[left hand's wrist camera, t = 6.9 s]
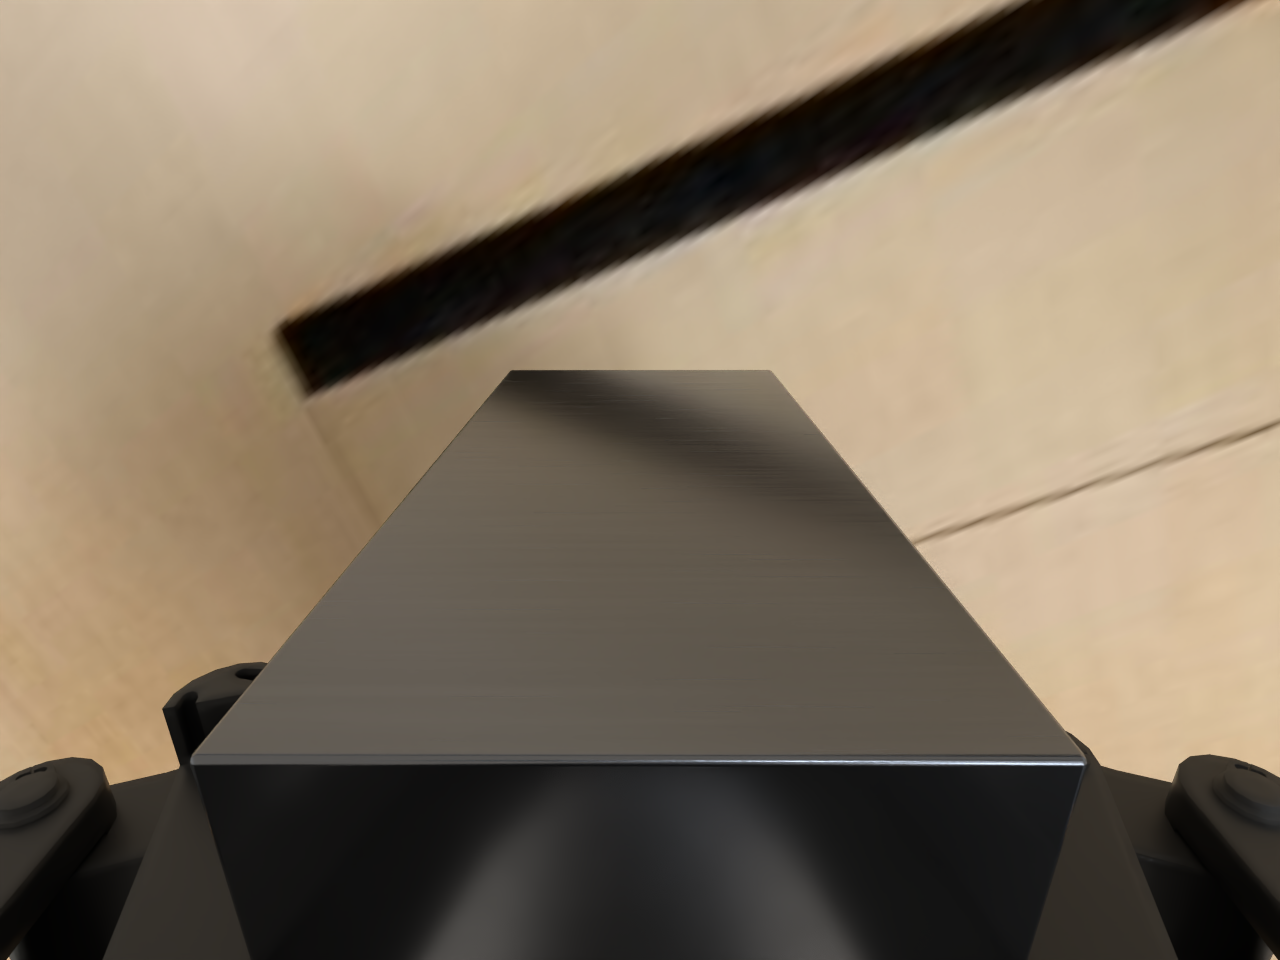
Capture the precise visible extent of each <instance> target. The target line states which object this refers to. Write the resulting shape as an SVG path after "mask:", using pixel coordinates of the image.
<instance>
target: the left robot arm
mask: <svg viewBox="0 0 1280 960" xmlns="http://www.w3.org/2000/svg"><path fill="white" fill-rule="evenodd" d="M267 664H268V663H263V662H256V663H241V664H236V665H232V666H229V667H225V668H221V669H217V670H214V671H212V672H210V673H208V674H206V675H204V676H201V677H199V678H197V679H195V680H193V681H191V682H190V683H188V684H187V685H186V686H184V687H183V688H182V689H180V690H179V691H177V692H176V693H175V694H173V696H172V697H171V698H170V700H169V701H168V702H167V703H166V705H165V706H164V707H163V708H162V710H163V713H164V716H165V719H166V722H167V726H168V729H169V732H170V735H171V738H172V741H173V744H174V747H175V751H176V754H177V757H178V760H179V763H180V767H179V769H177V770H173V771H170V772H167V773H162V774H158V775H153V776H149V777H145V778H140V779H136V780H131V781H127V782H123V783H118V784H114V785H109V783H108V780H107V778H106V775H105V772H104V770H103V767H102V766H100V765H99V764H98V763H96V762H95V761H94V760H92V759H85V758H75V757H70V758H65V759H59V760H53V761H47V762H44V763H41V764H38V765H35V766H33V767H29V768H27V769H24V770H22V771H19V772H17V773H15V774H13V775H12V776H10V777H8V778H6V779H4V780H2V781H1V782H0V960H7V958H8V957H10V959H11V960H251V959H250V956H249V952H248V949H247V946H246V943H245V940H244V936H243V933H242V930H241V927H240V924H239V920H238V917H237V914H236V911H235V907H234V904H233V901H232V898H231V895H230V891H229V888H228V885H227V882H226V879H225V875H224V872H223V869H222V866H221V862H220V859H219V856H218V853H217V850H216V846H215V843H214V840H213V837H212V834H211V830H210V827H209V824H208V821H207V817H206V814H205V811H204V808H203V805H202V801H201V798H200V795H199V792H198V789H197V785H196V782H195V779H194V776H193V772H192V769H191V766H190V760H191V757H192V754H193V753H194V752H195V750H196V749H197V748H198V747H199V746H200V744H201V743H202V742H203V741H204V740H205V738H206V737H207V736H208V735H209V734H210V732H211V731H212V730H213V729H214V728H215V726H216V725H217V724H218V723H219V722H220V720H221V719H222V718H223V717H224V716H225V714H226V713H227V712H228V711H229V710H230V708H231V707H232V706H233V705H234V703H235V702H236V701H237V700H238V699H239V697H240V696H241V695H242V694H243V693H244V691H245V690H246V689H247V688H248V687H249V685H250V684H251V683H252V682H253V681H254V679H255V678H256V677H257V676H258V675H259V673H260V672H261V671H262V670H263V669H264V667H265V666H266V665H267ZM1066 733H1067V734H1068V735H1069V736H1070V738H1071V739H1072V740H1073V741H1074V742H1075V744H1076V745H1077V746H1078V747H1079V749H1080V750H1081V751H1082V752H1083V753H1084V755H1085V757H1086V760H1087V767H1086V771H1085V774H1084V777H1083V781H1082V784H1081V787H1080V790H1079V794H1078V797H1077V800H1076V803H1075V807H1074V810H1073V813H1072V816H1071V820H1070V823H1069V826H1068V830H1067V833H1066V836H1065V839H1064V843H1063V846H1062V849H1061V852H1060V856H1059V859H1058V862H1057V865H1056V869H1055V872H1054V875H1053V879H1052V882H1051V885H1050V888H1049V892H1048V895H1047V898H1046V901H1045V905H1044V908H1043V911H1042V914H1041V918H1040V921H1039V924H1038V928H1037V931H1036V934H1035V937H1034V941H1033V944H1032V947H1031V950H1030V954H1029V957H1028V960H1270V959H1271V957H1272V955H1273V954H1274V955H1275V956H1276V958H1277V959H1278V960H1280V778H1279V777H1277V776H1275V775H1274V774H1272V773H1270V772H1268V771H1266V770H1265V769H1262V768H1260V767H1257V766H1255V765H1252V764H1248V763H1246V762H1243V761H1240V760H1237V759H1233V758H1227V757H1222V756H1216V755H1210V754H1209V755H1199V756H1190V757H1189V758H1187V759H1186V760H1184V761H1183V762H1182V763H1180V764H1179V766H1178V769H1177V771H1176V774H1175V777H1174V779H1173V782H1172V783H1171V782H1166V781H1162V780H1157V779H1153V778H1148V777H1144V776H1140V775H1135V774H1131V773H1126V772H1122V771H1117V770H1114V769H1110V768H1107V767H1103V766H1100V764H1099V762H1098V761H1097V759H1096V758H1095V756H1094V755H1093V753H1092V752H1091V750H1090V749H1089V748H1088V747H1087V746H1085V745H1084V744H1083V743H1082V742H1081V741H1079V740H1078V739H1077V738H1076V737H1075V736H1073V735H1072V734H1070V733H1069V732H1067V731H1066Z"/></svg>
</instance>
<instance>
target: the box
mask: <svg viewBox="0 0 1280 960" xmlns="http://www.w3.org/2000/svg"><path fill="white" fill-rule="evenodd" d="M190 766H191V769H192V772H193V776H194V779H195V782H196V785H197V789H198V792H199V795H200V798H201V801H202V805H203V808H204V811H205V814H206V817H207V821H208V824H209V827H210V830H211V834H212V837H213V840H214V843H215V846H216V850H217V853H218V856H219V859H220V862H221V866H222V869H223V872H224V875H225V879H226V882H227V885H228V888H229V891H230V895H231V898H232V901H233V904H234V907H235V911H236V914H237V917H238V920H239V924H240V927H241V930H242V933H243V936H244V940H245V943H246V946H247V949H248V952H249V956H250V959H251V960H1028V957H1029V954H1030V950H1031V947H1032V944H1033V941H1034V937H1035V934H1036V931H1037V928H1038V924H1039V921H1040V918H1041V914H1042V911H1043V908H1044V905H1045V901H1046V898H1047V895H1048V892H1049V888H1050V885H1051V882H1052V879H1053V875H1054V872H1055V869H1056V865H1057V862H1058V859H1059V856H1060V852H1061V849H1062V846H1063V843H1064V839H1065V836H1066V833H1067V830H1068V826H1069V823H1070V820H1071V816H1072V813H1073V810H1074V807H1075V803H1076V800H1077V797H1078V794H1079V790H1080V787H1081V784H1082V781H1083V777H1084V774H1085V771H1086V767H1087V760H1086V757H1085V755H1084V753H1083V752H1082V751H1081V750H1080V749H1079V747H1078V746H1077V745H1076V744H1075V742H1074V741H1073V740H1072V739H1071V738H1070V736H1069V735H1068V734H1067V733H1066V731H1065V730H1064V729H1063V728H1062V727H1061V725H1060V724H1059V723H1058V722H1057V720H1056V719H1055V718H1054V717H1053V716H1052V714H1051V713H1050V712H1049V711H1048V709H1047V708H1046V707H1045V706H1044V704H1043V703H1042V702H1041V701H1040V700H1039V698H1038V697H1037V696H1036V695H1035V693H1034V692H1033V691H1032V690H1031V689H1030V687H1029V686H1028V685H1027V684H1026V682H1025V681H1024V680H1023V679H1022V678H1021V676H1020V675H1019V674H1018V673H1017V671H1016V670H1015V669H1014V668H1013V666H1012V665H1011V664H1010V663H1009V662H1008V660H1007V659H1006V658H1005V657H1004V655H1003V654H1002V653H1001V652H1000V651H999V649H998V648H997V647H996V646H995V644H994V643H993V642H992V641H991V640H990V638H989V637H988V636H987V635H986V633H985V632H984V631H983V630H982V629H981V627H980V626H979V625H978V624H977V622H976V621H975V620H974V619H973V617H972V616H971V615H970V614H969V613H968V611H967V610H966V609H965V608H964V606H963V605H962V604H961V603H960V602H959V600H958V599H957V598H956V597H955V595H954V594H953V593H952V592H951V591H950V589H949V588H948V587H947V586H946V584H945V583H944V582H943V581H942V580H941V578H940V577H939V576H938V575H937V573H936V572H935V571H934V570H933V568H932V567H931V566H930V565H929V564H928V562H927V561H926V560H925V559H924V557H923V556H922V555H921V554H920V553H919V551H918V550H917V549H916V548H915V546H914V545H913V544H912V543H911V542H910V540H909V539H908V538H907V537H906V535H905V534H904V533H903V532H902V530H901V529H900V528H899V527H898V526H897V524H896V523H895V522H894V521H893V519H892V518H891V517H890V516H889V515H888V513H887V512H886V511H885V510H884V508H883V507H882V506H881V505H880V504H879V502H878V501H877V500H876V499H875V497H874V496H873V495H872V494H871V493H870V491H869V490H868V489H867V488H866V486H865V485H864V484H863V483H862V481H861V480H860V479H859V478H858V477H857V475H856V474H855V473H854V472H853V470H852V469H851V468H850V467H849V466H848V464H847V463H846V462H845V461H844V459H843V458H842V457H841V456H840V455H839V453H838V452H837V451H836V450H835V448H834V447H833V446H832V445H831V444H830V442H829V441H828V440H827V439H826V437H825V436H824V435H823V434H822V432H821V431H820V430H819V429H818V428H817V426H816V425H815V424H814V423H813V421H812V420H811V419H810V418H809V417H808V415H807V414H806V413H805V412H804V410H803V409H802V408H801V407H800V406H799V404H798V403H797V402H796V401H795V399H794V398H793V397H792V396H791V395H790V393H789V392H788V391H787V390H786V388H785V387H784V386H783V385H782V383H781V382H780V381H779V380H778V379H777V377H776V376H775V375H774V374H773V372H772V371H770V370H512V371H510V372H509V373H508V374H507V376H506V377H505V378H504V379H503V380H502V382H501V383H500V384H499V385H498V386H497V388H496V389H495V390H494V391H493V393H492V394H491V395H490V396H489V397H488V399H487V400H486V401H485V402H484V403H483V405H482V406H481V407H480V408H479V409H478V411H477V412H476V413H475V414H474V415H473V417H472V418H471V419H470V420H469V421H468V423H467V424H466V425H465V426H464V427H463V429H462V430H461V431H460V432H459V434H458V435H457V436H456V437H455V438H454V440H453V441H452V442H451V443H450V444H449V446H448V447H447V448H446V449H445V450H444V452H443V453H442V454H441V455H440V456H439V458H438V459H437V460H436V461H435V462H434V464H433V465H432V466H431V467H430V468H429V470H428V471H427V472H426V473H425V474H424V476H423V477H422V478H421V479H420V481H419V482H418V483H417V484H416V485H415V487H414V488H413V489H412V490H411V491H410V493H409V494H408V495H407V496H406V497H405V499H404V500H403V501H402V502H401V503H400V505H399V506H398V507H397V508H396V509H395V511H394V512H393V513H392V514H391V515H390V517H389V518H388V519H387V520H386V521H385V523H384V524H383V525H382V526H381V528H380V529H379V530H378V531H377V532H376V534H375V535H374V536H373V537H372V538H371V540H370V541H369V542H368V543H367V544H366V546H365V547H364V548H363V549H362V550H361V552H360V553H359V554H358V555H357V556H356V558H355V559H354V560H353V561H352V562H351V564H350V565H349V566H348V567H347V568H346V570H345V571H344V572H343V573H342V575H341V576H340V577H339V578H338V579H337V581H336V582H335V583H334V584H333V585H332V587H331V588H330V589H329V590H328V591H327V593H326V594H325V595H324V596H323V597H322V599H321V600H320V601H319V602H318V603H317V605H316V606H315V607H314V608H313V609H312V611H311V612H310V613H309V614H308V616H307V617H306V618H305V619H304V620H303V622H302V623H301V624H300V625H299V626H298V628H297V629H296V630H295V631H294V632H293V634H292V635H291V636H290V637H289V638H288V640H287V641H286V642H285V643H284V644H283V646H282V647H281V648H280V649H279V650H278V652H277V653H276V654H275V655H274V656H273V658H272V659H271V660H270V661H269V663H268V664H267V665H266V666H265V667H264V669H263V670H262V671H261V672H260V673H259V675H258V676H257V677H256V678H255V679H254V681H253V682H252V683H251V684H250V685H249V687H248V688H247V689H246V690H245V691H244V693H243V694H242V695H241V696H240V697H239V699H238V700H237V701H236V702H235V703H234V705H233V706H232V707H231V708H230V710H229V711H228V712H227V713H226V714H225V716H224V717H223V718H222V719H221V720H220V722H219V723H218V724H217V725H216V726H215V728H214V729H213V730H212V731H211V732H210V734H209V735H208V736H207V737H206V738H205V740H204V741H203V742H202V743H201V744H200V746H199V747H198V748H197V749H196V750H195V752H194V753H193V754H192V757H191V760H190Z"/></svg>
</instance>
